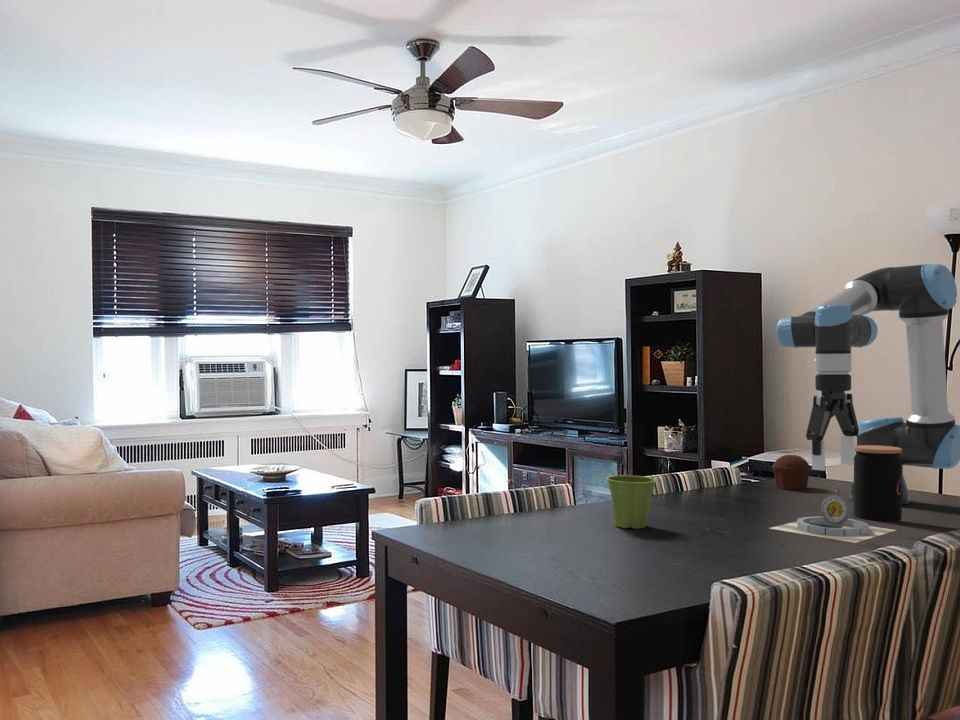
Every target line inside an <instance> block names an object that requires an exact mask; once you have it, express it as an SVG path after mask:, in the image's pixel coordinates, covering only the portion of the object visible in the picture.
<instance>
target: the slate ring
mask: <svg viewBox="0 0 960 720" xmlns="http://www.w3.org/2000/svg"><path fill="white" fill-rule="evenodd" d="M832 517H833V518H837V517H836V516H832ZM811 520H812V521H819V522H826V523H828V522H827V521H825V519H824V518H823V516H822V515H821V516H805V517H800V518H799V517H798V518H797V527H798V529H800V530H803V531H806V532H810V533H816V534H822V535H825V534H826V535H833V536H860V535H864V534H868V533H869V526H870V525H869V524H868V523H867V522H865V521H863V520H862V521H861V520H858V519H853V518H848V520H847V521H846V522H844V523H842V524H840V525H844V526H850V527H854V528H831V527H822V526H815V525H811V524H812V523H811Z"/></svg>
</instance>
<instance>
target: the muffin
mask: <svg viewBox="0 0 960 720" xmlns="http://www.w3.org/2000/svg"><path fill="white" fill-rule="evenodd" d="M771 467H772V469H773V475H774V482H775V487H776V489H778V490H784V491H804V490H805V491H806V490H807V488H808V482H809V476H810V471H811V470H812V466H810V464H809V462H808V461H807V460H806V459H804V458H803V457H802V456H800V455H796V454H784V455H782V456H780V457H778V458H777V459H776V460H775V461H774V462H773V463H772V465H771Z"/></svg>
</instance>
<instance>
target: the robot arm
mask: <svg viewBox="0 0 960 720" xmlns="http://www.w3.org/2000/svg"><path fill="white" fill-rule="evenodd" d="M957 290H958V289H957V283H956V281H955V278H954V275H953V273H952V272H951V271H950V269H949V268H948V267H947V266H945V265H944V264H938V263H937V264H936V263H935V264H934V263H932V264H931V263H929V264H928V263H924V264H917V265H905V266H894V267H893V266H892V267H891V266H890V267H884V268H883V267H882V268H879V269H876V270H872V271H870V272H868V273H865V274H863V275H861V276H859V277H857V278H855V279H852V280H851V281H849V282H848V283H847V284H845V286H844V287H843V288H842V291H840V292H838V293H837V294H834V295H833V296H832V297H830V298H828V299H826V300H825V301H823V302H821V303H819V304H818V305H815V306H814V307H813V308H811V309H809V310H807V311H806V312H804V313H802V314H801V315H799V316H792V315H791V316H784V317H782V318H781V319H779V321H778V322H777V324H776V328H775V334H776V339H777V341H778V342H777V343H779V345H780V346H782V347H784V348H793V349H796V348H815V358H814V359H813V361H814V362H815V371H816V372H817V374H816V375H815V376H814V377H815V382H814V383H815V384H814V385H815V390H816V391H818V392H819V391H820V392H821V395H813V399H812V400H813V401H812V408H811V412H810V417H809V420H808V421H809V422H808V425H807V429H806V433H805V436H806V439H807V440H808V441H811V470H813V471H814V470H815V471H823V472H824V471H826V440H824V437H825V435H826V433H827V430H828V427H829V426H830V422H831V420H832V418H833V417H835V419H836V421H837V424H838V426H839V428H840V430H841V433H842V435H840V465H847V466H849V465H850V466H854V456H855V450H854V446H855V445H854V443H855V442H854V441H855V437H856V446H860V445H876V446H891V447H898V448H901V449H902V452H901V454H900V457H901V459H902V505H908V504H909V503H910V500H911V496H910V491H909V489H908V486H907V483H906V480H905V476H904V473H903V472H904V470H903V469H904V466H908V467H909V466H911V467H921V468H931V469H935V470H938V469H943V470H947V469H948V470H951V469H952V468H955V467H956V466H957V465H958V464H959V463H960V425H959V424H956V417H955V416H954V415H953V414H952V413H951V412H949V409H948V407H949V406H948V389H947V374H946V373H947V372H946V359H945V358H946V356H945V355H946V354H945V340H944V339H945V338H944V324H943V323H944V320H945V319H947V318H948V316H949V315H950V314H949V310H950V309H953V308H954V307H955V306H956V304H957V297H958V291H957ZM880 311H881V312H883V311H893V312H894V311H898V315H899V316H898V318H899V319H900V320H901V321H902V322H904V324H905V326H906V327H905V328H906V343H907V345H906V346H907V358H908V359H907V360H908V372H909V373H908V375H909V388H910V406H911V412H910V414H908V415H907V416H906V418H905V421H904V418H903V417H902V416H895V417H883V418H881V417H880V418H871V419H862V420H860V421H859V422H858V420H857V415H856V411H855V407H854V404H853V393H846V392H849V391H851V390H852V375H851V374H849V373H850V372H852V348H863V347H867V346H869V345H871V344H872V343H874V342H875V340H876V339H877V337H878V330H879V329H878V325H877V322H876V321H875V320H874V319H872V318H871V317H870V316H866V315H867V314H870V313H871V312H880ZM849 499H850V500H851V501H854V481H853V482H852V485H851V488H850V491H849Z"/></svg>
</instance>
